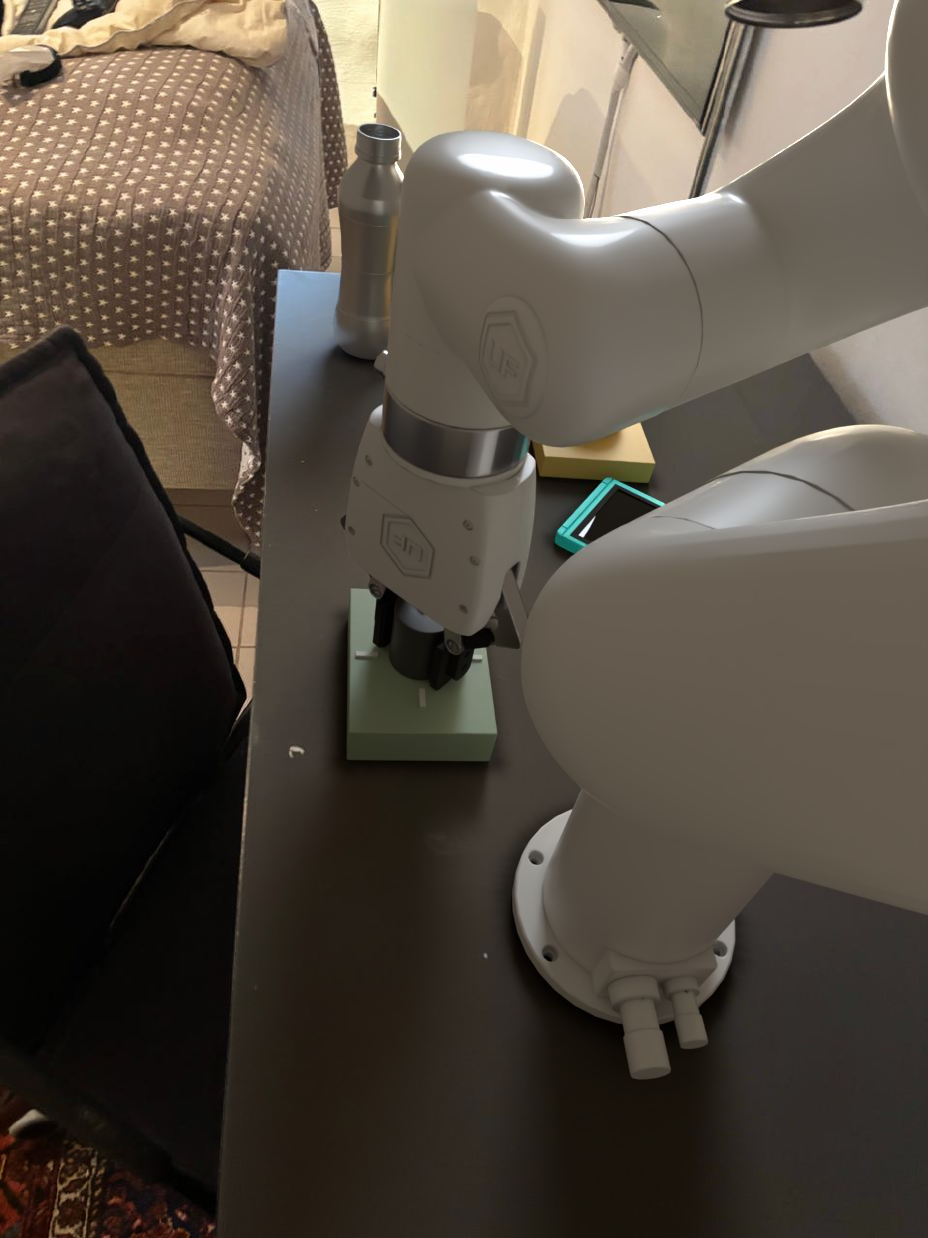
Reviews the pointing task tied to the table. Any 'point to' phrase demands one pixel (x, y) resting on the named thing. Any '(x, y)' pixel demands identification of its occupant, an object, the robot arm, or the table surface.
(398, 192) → the silver metal bottle
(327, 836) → the table surface
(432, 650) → the knob
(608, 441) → the button block
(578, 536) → the handheld game console
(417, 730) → the panel
